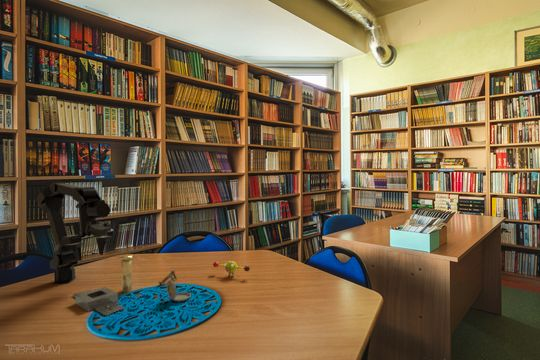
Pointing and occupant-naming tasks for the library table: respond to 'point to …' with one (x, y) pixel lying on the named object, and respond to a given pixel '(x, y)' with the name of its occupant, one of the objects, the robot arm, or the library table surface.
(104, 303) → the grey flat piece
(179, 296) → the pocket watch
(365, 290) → the library table surface
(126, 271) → the pin
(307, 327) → the library table surface
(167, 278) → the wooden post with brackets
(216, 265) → the toy figure
